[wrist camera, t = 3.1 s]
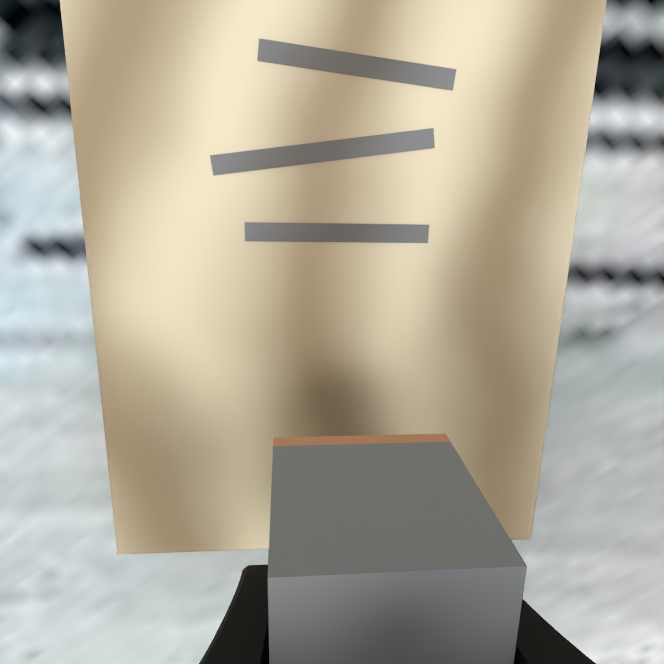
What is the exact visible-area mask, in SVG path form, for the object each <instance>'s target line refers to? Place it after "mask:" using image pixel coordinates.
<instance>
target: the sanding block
mask: <svg viewBox="0 0 664 664" xmlns="http://www.w3.org/2000/svg"><path fill="white" fill-rule="evenodd" d="M526 568H527V566H526V564H525V562H524V561H523V559H522V558H521V556H520V554H519V553H518V551H517V549H516V548H515V546H514V544H513V543H512V541H511V540H510V538H509V536H508V535H507V533H506V531H505V530H504V528H503V526H502V525H501V523H500V522H499V520H498V518H497V517H496V515H495V513H494V512H493V510H492V508H491V507H490V505H489V504H488V502H487V500H486V499H485V497H484V495H483V494H482V492H481V490H480V489H479V487H478V485H477V484H476V482H475V481H474V479H473V477H472V476H471V474H470V472H469V471H468V469H467V467H466V466H465V464H464V463H463V461H462V459H461V458H460V456H459V454H458V453H457V451H456V449H455V448H454V446H453V445H452V443H451V441H450V440H449V438H448V436H447V435H446V433H445V434H404V435H362V436H321V437H280V438H273V459H272V484H271V508H270V532H269V557H268V620H269V664H513V663H514V656H515V648H516V641H517V634H518V626H519V619H520V612H521V605H522V597H523V590H524V583H525V575H526Z"/></svg>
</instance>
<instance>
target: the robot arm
mask: <svg viewBox="0 0 664 664" xmlns="http://www.w3.org/2000/svg"><path fill="white" fill-rule="evenodd" d="M199 664H269V620H268V565H249V566H247V567H246V568H245V569H244V570H243V571H242V575H241V578H240V581H239V584H238V587H237V590H236V592H235V595H234V597H233V599H232V602H231V604H230V606H229V608H228V611H227V613H226V615H225V617H224V619H223V621H222V623H221V625H220V627H219V629H218V631H217V633H216V635H215V637H214V639H213V640H212V642H211V644H210V646H209V648H208V649H207V651H206V653H205V655H204V656H203V658H202V660H201V661H200V663H199ZM513 664H596V663H594V662H593V661H592V660H591V659H589V658H588V657H587V656H586V655H584V654H583V653H582V652H581V651H580V650H579V649H577V648H576V647H575V646H574V645H573V644H571V643H570V642H569V641H568V640H567V639H566V638H564V637H563V636H562V635H561V634H560V633H559V632H558V631H556V630H555V629H554V628H553V627H552V626H551V625H550V624H549V623H547V622H546V621H545V620H544V619H543V618H542V617H541V616H540V615H539V614H538V613H537V612H536V611H535V610H534V609H532V608H531V607H530V606H529V605H528V604H527V603H526V602H525V601H524V600H523V599H522V605H521V612H520V619H519V626H518V634H517V641H516V648H515V656H514V663H513Z"/></svg>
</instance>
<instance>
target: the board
mask: <svg viewBox="0 0 664 664" xmlns="http://www.w3.org/2000/svg"><path fill="white" fill-rule="evenodd" d="M606 1H607V0H60V6H61V16H62V25H63V35H64V45H65V54H66V64H67V73H68V83H69V93H70V102H71V112H72V122H73V131H74V141H75V150H76V160H77V170H78V179H79V189H80V198H81V208H82V218H83V227H84V237H85V247H86V256H87V266H88V275H89V285H90V295H91V304H92V314H93V324H94V333H95V343H96V352H97V362H98V372H99V381H100V391H101V400H102V410H103V420H104V429H105V439H106V449H107V458H108V468H109V477H110V487H111V497H112V506H113V516H114V525H115V535H116V545H117V554H141V553H168V552H195V551H222V550H250V549H269V532H270V508H271V484H272V459H273V438H280V437H321V436H362V435H404V434H445V433H446V435H447V436H448V438H449V440H450V441H451V443H452V445H453V446H454V448H455V449H456V451H457V453H458V454H459V456H460V458H461V459H462V461H463V463H464V464H465V466H466V467H467V469H468V471H469V472H470V474H471V476H472V477H473V479H474V481H475V482H476V484H477V485H478V487H479V489H480V490H481V492H482V494H483V495H484V497H485V499H486V500H487V502H488V504H489V505H490V507H491V508H492V510H493V512H494V513H495V515H496V517H497V518H498V520H499V522H500V523H501V525H502V526H503V528H504V530H505V531H506V533H507V535H508V536H509V538H510V540H521V539H531V532H532V525H533V518H534V511H535V504H536V497H537V490H538V483H539V476H540V469H541V461H542V454H543V447H544V440H545V433H546V426H547V419H548V412H549V405H550V398H551V391H552V384H553V376H554V369H555V362H556V355H557V348H558V341H559V334H560V327H561V320H562V313H563V306H564V299H565V291H566V284H567V277H568V270H569V263H570V256H571V249H572V242H573V235H574V228H575V221H576V214H577V206H578V199H579V192H580V185H581V178H582V171H583V164H584V157H585V150H586V143H587V136H588V129H589V121H590V114H591V107H592V100H593V93H594V86H595V79H596V72H597V65H598V58H599V51H600V44H601V36H602V29H603V22H604V15H605V8H606Z"/></svg>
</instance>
